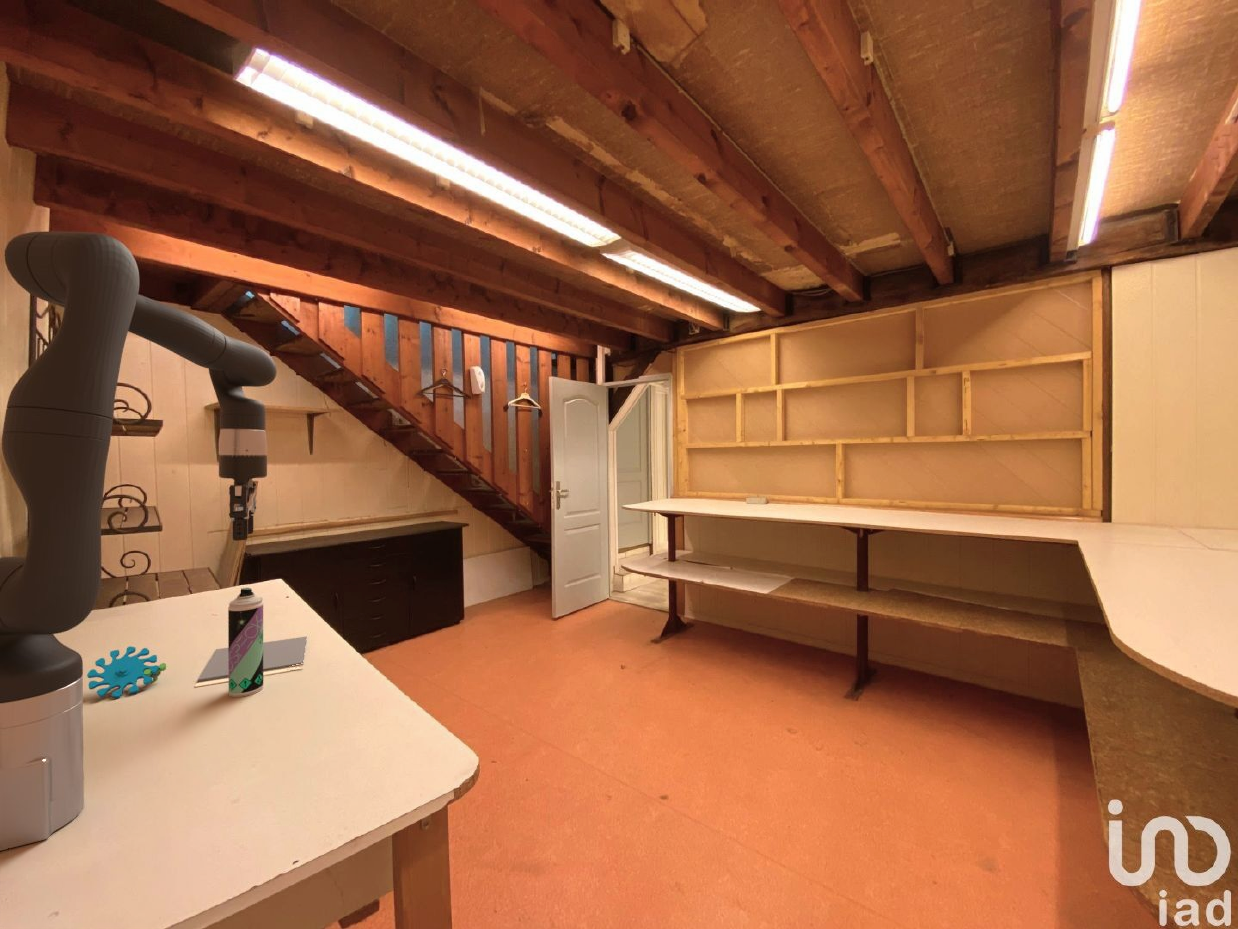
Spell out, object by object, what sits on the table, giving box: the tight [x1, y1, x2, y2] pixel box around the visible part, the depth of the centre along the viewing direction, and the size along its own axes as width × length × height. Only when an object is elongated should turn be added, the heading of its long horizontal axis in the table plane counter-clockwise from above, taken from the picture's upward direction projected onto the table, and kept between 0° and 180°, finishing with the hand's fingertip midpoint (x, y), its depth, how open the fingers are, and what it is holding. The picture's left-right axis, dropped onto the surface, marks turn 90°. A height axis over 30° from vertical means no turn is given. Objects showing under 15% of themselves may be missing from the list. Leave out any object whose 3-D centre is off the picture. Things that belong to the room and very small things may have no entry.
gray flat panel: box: [194, 636, 308, 688], centre depth 113 cm, size 21×18×1 cm
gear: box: [86, 646, 167, 699], centre depth 99 cm, size 11×6×10 cm
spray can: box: [227, 587, 264, 698], centre depth 98 cm, size 6×6×20 cm
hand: (243, 537), depth 98 cm, fingers open, 8 cm apart
